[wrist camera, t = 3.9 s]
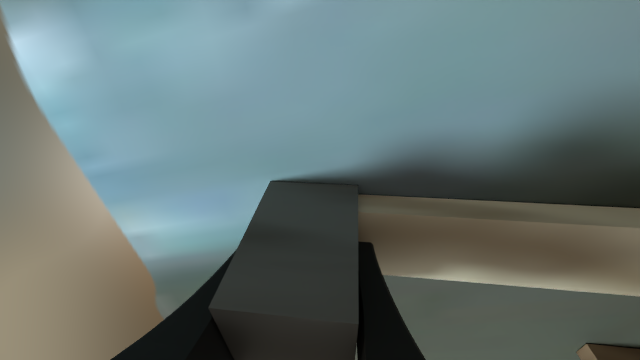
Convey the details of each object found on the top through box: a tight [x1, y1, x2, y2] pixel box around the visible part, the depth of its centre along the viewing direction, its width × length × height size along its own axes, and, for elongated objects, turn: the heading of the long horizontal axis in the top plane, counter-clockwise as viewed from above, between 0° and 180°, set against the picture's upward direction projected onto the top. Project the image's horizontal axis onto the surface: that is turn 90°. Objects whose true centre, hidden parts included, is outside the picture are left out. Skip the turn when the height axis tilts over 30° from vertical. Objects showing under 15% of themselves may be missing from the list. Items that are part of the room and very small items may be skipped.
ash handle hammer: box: [208, 181, 640, 360], centre depth 10 cm, size 5×17×6 cm, turn 92°
